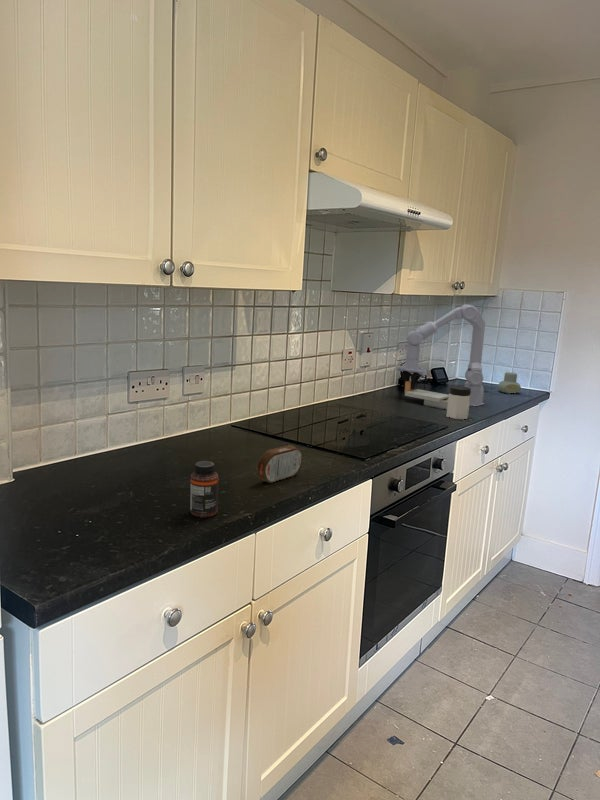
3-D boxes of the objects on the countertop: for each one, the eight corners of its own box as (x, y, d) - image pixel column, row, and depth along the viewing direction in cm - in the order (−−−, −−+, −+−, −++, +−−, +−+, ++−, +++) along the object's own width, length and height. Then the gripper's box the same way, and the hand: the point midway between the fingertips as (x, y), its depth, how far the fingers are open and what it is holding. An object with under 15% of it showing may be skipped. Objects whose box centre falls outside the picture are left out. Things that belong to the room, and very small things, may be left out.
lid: (413, 391, 275) (414, 379, 274) (451, 399, 264) (452, 386, 262) (400, 394, 267) (401, 382, 266) (439, 402, 255) (440, 389, 254)
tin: (295, 471, 163) (296, 441, 161) (303, 474, 161) (305, 444, 159) (255, 484, 152) (256, 451, 150) (264, 487, 150) (265, 454, 148)
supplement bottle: (203, 505, 136) (205, 457, 133) (223, 513, 132) (225, 463, 130) (184, 513, 131) (185, 463, 129) (203, 521, 127) (205, 469, 125)
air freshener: (500, 393, 300) (503, 373, 298) (495, 390, 308) (497, 371, 306) (522, 395, 300) (524, 375, 298) (516, 391, 308) (518, 372, 306)
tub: (434, 402, 268) (435, 394, 267) (468, 409, 258) (469, 401, 257) (423, 405, 261) (424, 397, 260) (458, 412, 251) (458, 404, 250)
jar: (465, 420, 236) (469, 390, 233) (444, 417, 239) (448, 388, 236) (469, 416, 244) (472, 387, 241) (448, 413, 247) (452, 384, 244)
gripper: (393, 357, 269) (390, 387, 271) (422, 361, 260) (419, 392, 262) (401, 356, 274) (399, 385, 277) (430, 360, 265) (427, 390, 268)
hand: (409, 388), depth 270 cm, fingers closed on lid, 2 cm apart
